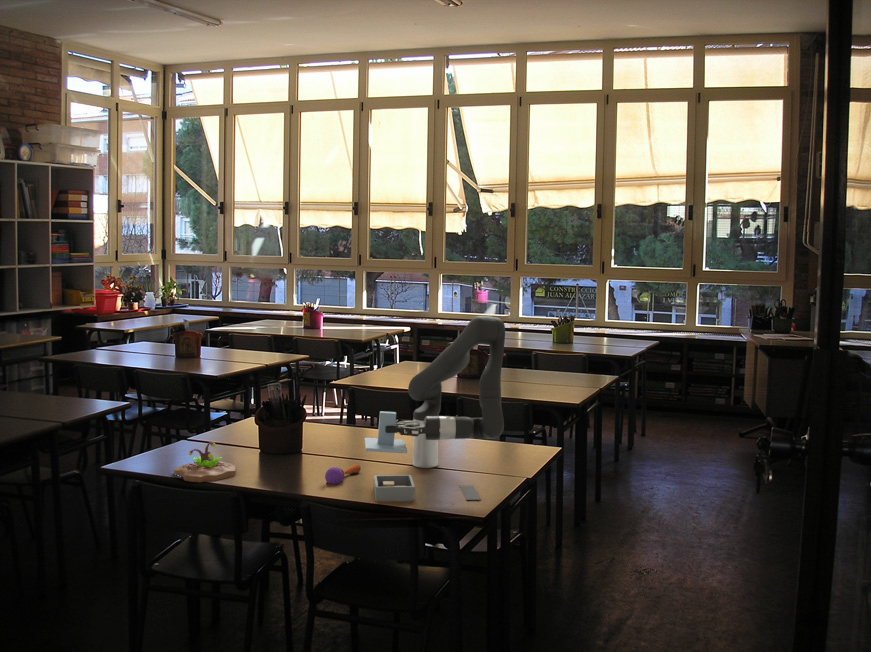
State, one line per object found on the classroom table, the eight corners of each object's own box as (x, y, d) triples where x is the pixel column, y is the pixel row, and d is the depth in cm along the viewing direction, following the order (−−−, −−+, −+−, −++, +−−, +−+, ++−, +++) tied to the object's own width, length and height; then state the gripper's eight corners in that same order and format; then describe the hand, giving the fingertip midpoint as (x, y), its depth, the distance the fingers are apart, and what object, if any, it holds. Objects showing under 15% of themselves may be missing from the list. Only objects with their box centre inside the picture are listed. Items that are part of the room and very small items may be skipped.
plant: (246, 476, 275) (246, 444, 275) (192, 485, 263) (192, 452, 262) (220, 464, 291) (220, 434, 290) (168, 473, 278) (167, 441, 277)
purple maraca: (365, 462, 281) (339, 471, 262) (362, 478, 281) (336, 489, 262) (350, 457, 283) (324, 466, 264) (347, 473, 283) (320, 483, 264)
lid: (364, 440, 258) (367, 406, 257) (403, 442, 260) (406, 409, 259) (365, 451, 244) (368, 415, 243) (407, 453, 245) (409, 418, 244)
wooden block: (382, 490, 258) (382, 481, 257) (393, 490, 258) (393, 481, 258) (383, 493, 254) (383, 484, 254) (394, 493, 254) (394, 484, 254)
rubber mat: (431, 487, 265) (431, 485, 265) (472, 486, 266) (472, 485, 266) (436, 501, 249) (436, 500, 249) (481, 500, 250) (481, 499, 250)
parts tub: (373, 490, 259) (374, 475, 259) (410, 489, 261) (411, 474, 260) (375, 503, 246) (375, 487, 245) (414, 502, 247) (414, 486, 247)
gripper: (437, 412, 260) (384, 412, 258) (442, 420, 246) (386, 420, 244) (437, 434, 260) (383, 435, 258) (442, 444, 247) (386, 445, 245)
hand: (385, 428), depth 251 cm, fingers closed on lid, 2 cm apart
